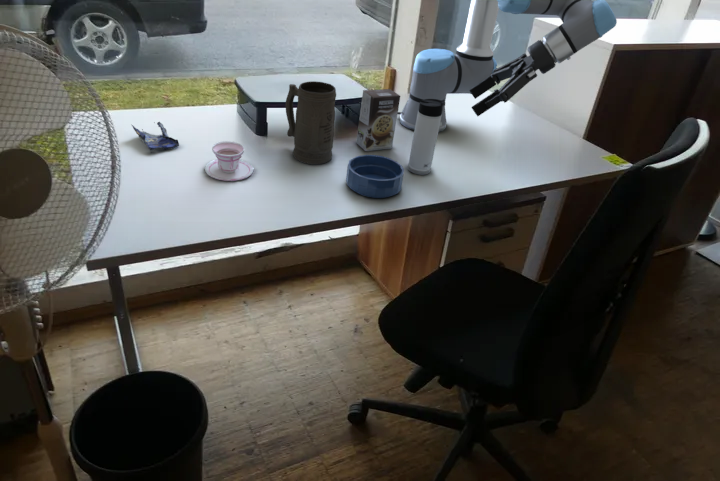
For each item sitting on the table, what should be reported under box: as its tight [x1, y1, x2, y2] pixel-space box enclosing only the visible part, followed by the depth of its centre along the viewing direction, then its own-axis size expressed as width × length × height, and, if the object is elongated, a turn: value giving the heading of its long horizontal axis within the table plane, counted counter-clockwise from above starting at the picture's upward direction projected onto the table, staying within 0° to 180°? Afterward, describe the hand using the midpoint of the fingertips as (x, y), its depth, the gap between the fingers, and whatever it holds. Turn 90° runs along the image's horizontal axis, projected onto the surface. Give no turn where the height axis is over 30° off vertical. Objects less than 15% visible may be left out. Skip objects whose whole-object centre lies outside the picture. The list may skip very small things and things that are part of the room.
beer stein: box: [285, 80, 337, 165], centre depth 151 cm, size 15×11×20 cm
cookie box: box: [355, 88, 401, 152], centre depth 162 cm, size 9×6×16 cm
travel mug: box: [407, 99, 446, 176], centre depth 151 cm, size 6×7×20 cm
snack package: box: [130, 121, 180, 154], centre depth 149 cm, size 12×6×12 cm
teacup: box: [204, 140, 254, 182], centre depth 141 cm, size 12×12×6 cm
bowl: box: [345, 154, 405, 199], centre depth 143 cm, size 14×14×6 cm
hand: (473, 102), depth 144 cm, fingers open, 13 cm apart
